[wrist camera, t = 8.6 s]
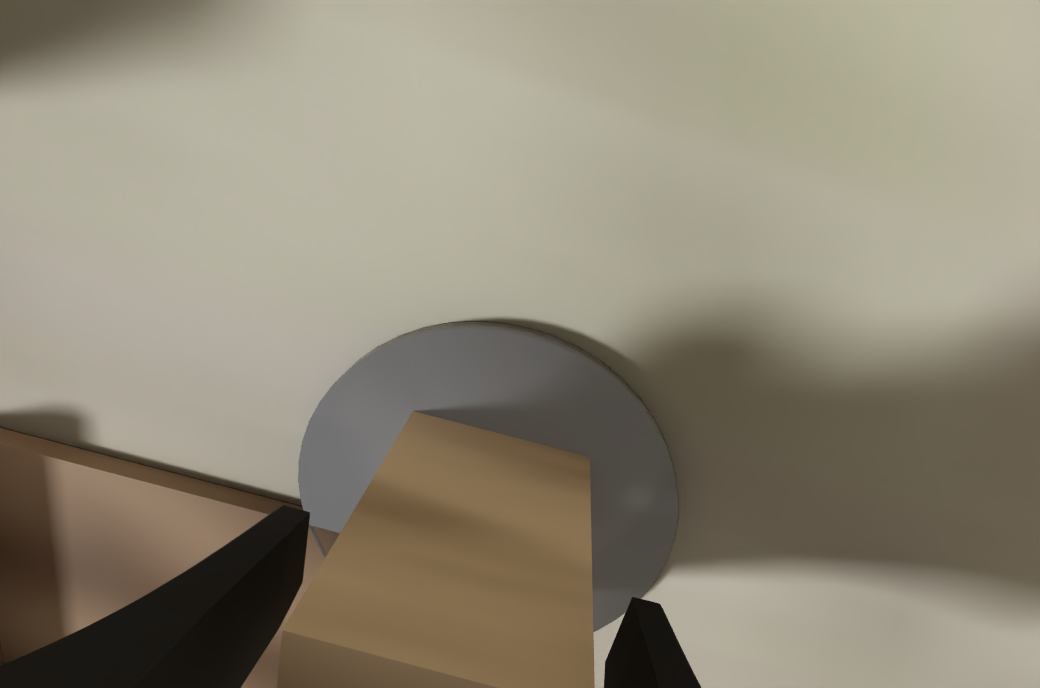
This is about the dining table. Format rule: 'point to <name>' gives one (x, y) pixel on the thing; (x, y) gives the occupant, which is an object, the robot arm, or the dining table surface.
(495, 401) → the slate coaster
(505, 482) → the oak block
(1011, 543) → the dining table surface
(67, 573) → the crate
